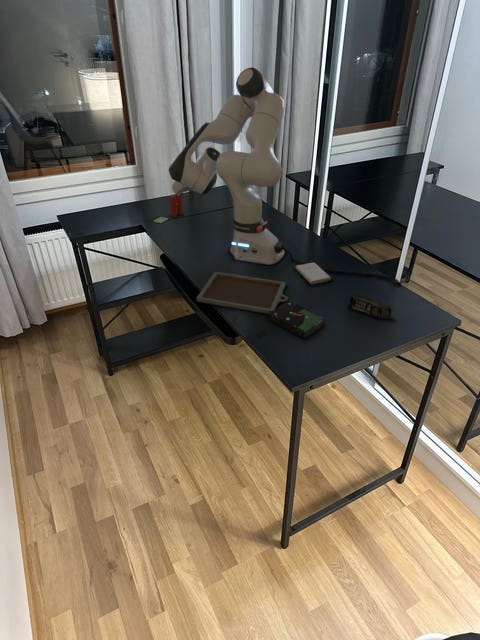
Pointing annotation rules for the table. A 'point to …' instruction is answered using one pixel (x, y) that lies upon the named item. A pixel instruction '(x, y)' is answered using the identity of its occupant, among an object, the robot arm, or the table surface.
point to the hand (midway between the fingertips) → (187, 191)
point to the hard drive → (313, 273)
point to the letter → (176, 205)
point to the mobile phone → (370, 307)
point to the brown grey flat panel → (243, 292)
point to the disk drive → (296, 319)
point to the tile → (160, 219)
